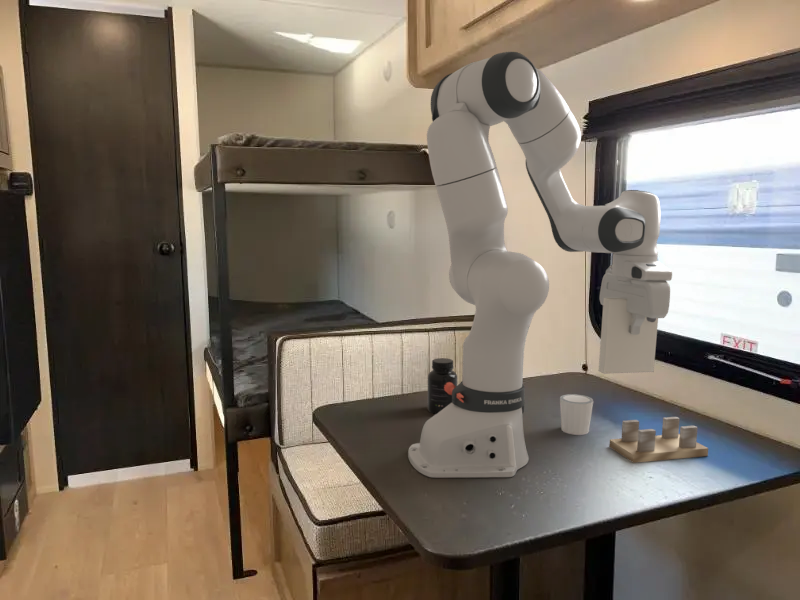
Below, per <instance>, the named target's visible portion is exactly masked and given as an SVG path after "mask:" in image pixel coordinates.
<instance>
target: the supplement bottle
mask: <svg viewBox="0 0 800 600" xmlns="http://www.w3.org/2000/svg"><path fill="white" fill-rule="evenodd" d="M431 369H432V370H430V371H429V373H428V375H427V410H428V411H429V412H430V413H431V414H434V415H436V414H437V413H438V412H440V411H441V410H442V409H444V408H445V407H446V406H448V405H449V404H450V403H452V395H450V394H448V393H447V392H446V391H445V390H444V389H445V388H444V387H445V386H444V385H446V383H448V382H451V383H453V385H455V386H457V385H458V374H457V373H456V371H454V360H453V359H452V358H445V357H443V358H442V357H438V358H434V359H432V361H431Z"/></svg>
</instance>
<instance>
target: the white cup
mask: <svg viewBox="0 0 800 600" xmlns="http://www.w3.org/2000/svg"><path fill="white" fill-rule="evenodd" d="M559 405H560V427H561V428H560V429H561V431H563V433H566V434H568V435H575V436H581V435H583V436H584V435H587V434H589V432H590V427H591V419H592V415H593V414H592V413H593V405H594V398H592V397H590V396H587V395H585V394H584V395H583V394H576V393H573V394H572V393H569V394H563V395H561V396H560V397H559Z"/></svg>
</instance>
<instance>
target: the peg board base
mask: <svg viewBox="0 0 800 600" xmlns="http://www.w3.org/2000/svg"><path fill="white" fill-rule="evenodd" d="M680 420H681V419H680V417H678V416H669V417H663V418H662V428H661V429H662V431H661V434H660V435H656V432H657V430H656V429H653V428H648V429H640V421H639V420H638V419H629V420H627V419H626V420H622V424H621V426H622V427H621V438H613V439H609V443H608V445H609V448H611V449H612V450H613V451H615V452H616V453H618V454H620V456H622V457H624V458H625V459H627V460H628V461H630V462H631V463H632V464H634V463H645V462H655V461H657V462H658V461H668V460H677V459H679V460H680V459H689V458H699V457H709V447H706V446H705V445H703V444H701V443H699V442H697V440H698V428H699V427H698V426H695V425H685V426H684V425H683V426H680Z"/></svg>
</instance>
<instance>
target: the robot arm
mask: <svg viewBox="0 0 800 600" xmlns="http://www.w3.org/2000/svg"><path fill="white" fill-rule="evenodd" d="M431 92H432V93H431V95H430V112H431V121H432V122H431V123H430V125H429V126H428V128H427V131H426V142H427V144H426V145H427V153H428V159H429V165H430V169H431V174H432V178H433V181H434V185H435V188H436V192H437V195H438V199H439V204H440V206H441V210H442V214H443V216H444V220H445V223H446V227H447V234H448V241H449V244H448V245H449V254H450V263H451V264H450V267H449V271H448V280H449V283H450V286H451V287H452V289H453V291H454V292H455V293H456V294H457V296H459V297H460V298H461V299H462V300H463V301H465V302H466V303H469V304H471V305H474V306H475V311H474V312H475V313H474V318H473V321H472V325H471V329H470V331H469V333H468V335H467V336H466V337H465V338H464V341H463V344H462V378H461V381H460V382H459V383H458V384H457V386H455V385H453V383H451V382H448V383H446V385H444V386H445V387H444V388H445V389H444V390H445V391H446V392H447V393H448V394H450V395H452V403H450V404H449V405H448V406H446V407H445V408H444V409H442V410H441V411H440V412H438V413H437V414H434V415H433V416H431V417H430V418H428V419H427V420H426V421H425V422H424V424H423V427H422V430H421V435H420V440H419V442H417V443H412V444H411V445H410V446H409V448H408V450H407V451H408V452H407V458H408V460H409V462H410V464H411V466H412V468H414V469H415V470H416V471H417V472H419V473H420V474H422V475H424V476H425V477H428V478H511V477H514V476H516V474H517V471H518V470H519V469H521V468H523V467H525V466H526V465H527V464H528V463H529V460H530V457H529V455H528V451H527V448H526V445H527V444H526V442H525V441H526V440H525V434H524V424H523V422H524V421H523V420H524V419H523V414H524V412H525V404H526V403H525V401H526V399H525V398H526V395H525V394H526V393H525V392H526V391H525V384H524V383H523V378H524V376H523V375H524V361H525V360H524V358H525V346H526V341H527V336H528V334H529V329H530V326H531V323H532V320H533V319H534V318H533V317H534V316H535V314H536V312H537V311H538V310H539V309H540V308H541V307H542V306H543V305H544V304H545V302H546V300H547V298H548V295H549V291H550V281H549V276H548V273H547V272H546V270H545V268H544V267H543V265H541V264H540V263H539V262H537V261H535V260H534V259H533V258H531V257H530V256H528V255H525V254H523V253H521V252H520V253H519V252H515V251H508V249H507V247H506V242H505V220H506V218H507V216H508V212H509V208H508V204H507V200H506V196H505V192H504V189H503V185H502V180H501V177H500V174H499V169H498V166H497V163H496V159H495V157H494V153H493V151H492V147H491V144H490V142H489V140H490V139H489V135H490V128H491V127H492V126H495V125H498V124H501V123H503V122H504V123H505V124H506V125H508V128H509V129H510V131H511V133H512V135H513V137H514V138H515V140H516V142H517V144H518V146H519V147H520V149H521V150H522V152H523V155H524V157H525V168H526V171H527V174H528V177H529V180H530V181H531V184H532V186H533V188H534V190H535V192H536V194H537V196H538V198H539V200H540V202H541V204H542V207H543V209H544V211H545V213H546V215H547V217H548V220H549V224H550V227H551V228H550V229H551V231H552V237H553V239H554V241H555V243H556V244H557V245H558V247H559V248H560V249H561V250H563V251H565V252H570V253H581V252H585V253H586V252H588V253H599V254H601V253H605V254H612V264H611V265H609V267H608V268H607V269H606V270H605V274H604V275H603V277H602V278H601V279H602V280H601V284H600V285H601V286H600V290H599V302H600V305H602V306H603V301H604V298H624V299H627V306H626V310H627V312H630V313H632V318H634V319H633V322H632V325H629V331H628V332H629V333H630V334H633V335H638V334H639V333H640V326H641V325H642V323H643V321H644V320H645V317H648V318H658V319H664V318H666V316H667V315H668V313H669V309H670V301H671V287H670V283H669V282H670V281H671V280H672V278H673V271H672V270H671V269H670V268H669V267H667V266H665V265H664V264H663V263H662V262H661V261H660V260H658V256H659V255H658V253H659V252H658V247H657V243H658V239H659V237H660V234H661V233H660V231H661V205H660V199H659V197H658V196H657V195H656V194H654V193H653V192H650V191H646V190H639V189H627V190H623V191H622V192H621V193H620V196H618V197H617V198H615V199H614V200H612V201H611V202H609V203H608V202H607V203H605V204H604V205H583V204H581V203H579V202H577V201H576V200H575V199H573V197H572V194H571V191H570V190H569V188H568V184H567V183H566V181H565V179H564V176H563V173H562V168H564V167H565V166H566V165H567V164H568V163H569V162H570V161H571V160H572V158H574V157H575V155H576V153H577V152H578V150H579V147H580V145H581V140H582V133H581V129H580V125H579V122H578V121H577V119H576V117H575V115H574V113H573V112H572V110H571V109H570V106H569V105H568V104H567V102H566V100H565V98H564V97H563V95H562V93H560V91H559V90H558V89H557V87H556V86H555V84H554V83H553V82H552V81H551V80H550V79H549V77H548V76H546V74H545V73H544V72H543V71H542V70H541V69H539V68H537V67H536V66H535V65H534V63H533V62H532V61H531V60H530V59H529V58H528V57H527V56H525V55H524V54H522V53H521V52H517V51H504V52H499V53H495V54H494V55H492V56H490V57H487V58H484V59H481V60H478V61H474V62H471V63H468V64H466V65H463V66H462V67H460V68H459V69H457V70H456V71H454V72H451V73H449V74H447V75H445V76H444V77H443V78H441V80H439V82H437V84H436V85H435V86H434V87H433V90H432V91H431ZM668 281H669V282H668Z"/></svg>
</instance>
